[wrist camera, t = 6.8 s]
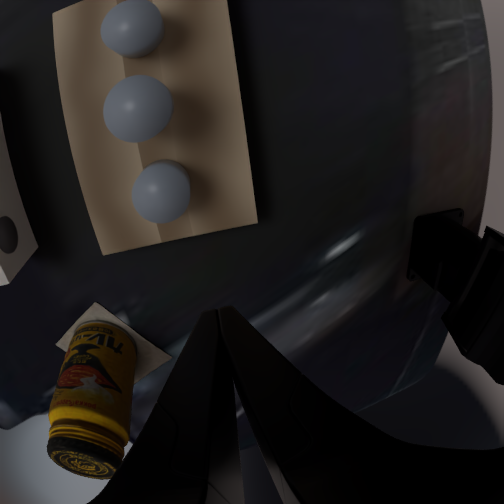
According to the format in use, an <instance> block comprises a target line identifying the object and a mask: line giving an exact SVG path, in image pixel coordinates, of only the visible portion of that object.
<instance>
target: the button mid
mask: <svg viewBox="0 0 504 504" xmlns="http://www.w3.org/2000/svg"><path fill="white" fill-rule="evenodd" d="M173 112H174V100H173V96H172V94H171V92H170V90H169V89H168V88H167V87H166V86H165V85H164V84H163V83H161V82H160V81H159V80H157V79H155V78H153V77H151V76H147V75H134V76H130V77H127V78H125V79H123V80H121V81H120V82H118V83H117V84H116V85H115V86H114V87H113V88H112V89H111V90H110V92H109V93H108V95H107V97H106V100H105V103H104V108H103V116H104V121H105V124H106V126H107V128H108V129H109V131H110V132H111V133H112V134H113V135H114V136H115V137H117V138H118V139H120V140H123V141H125V142H132V143H137V142H143V141H146V140H149V139H151V138H153V137H154V136H156V135H157V134H158V133H159V132H161V131H162V130H163V129H164V128H165V127H166V126H167V125H168V123H169V122H170V120H171V118H172V115H173Z"/></svg>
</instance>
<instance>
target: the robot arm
mask: <svg viewBox="0 0 504 504" xmlns="http://www.w3.org/2000/svg"><path fill="white" fill-rule="evenodd" d="M463 216H464V211H463V210H462V209H460V208H457V209H452V210H447V211H442V212H437V213H432V214H427V215H422V216H418V217H417V218H416V219H415V221H414V228H413V236H412V244H411V251H410V258H409V265H408V271H407V279H408V280H409V281H414V280H417V279H420V278H422V279H423V280H424V281H425V282H426V283H427V284H428V285H429V286H431V287H432V288H433V289H434V290H438V291H439V292H440V293H441V294H442V295H443V296H444V297H445V298H446V299H447V300H448V301H449V302H451V303H450V305H449V307H448V309H447V310H446V312H444V314H443V315H442V317H441V319H442V320H443V322H444V324H445V326H446V328H447V329H448V331H449V333H450V335H451V336H452V338H453V340H454V342H455V343H456V345H457V347H458V349H459V351H460V352H461V354H462V355H463V356H464V357H466V359H468V360H470V361H472V362H474V363H476V364H478V365H480V366H482V367H483V368H484V369H485V370H486V371H487V373H488V374H489V375H490V376H491V377H492V378H493V380H494V381H495V382H496V383H498V384H501V385H504V234H503V233H501V232H499V231H497V230H495V229H493V228H490V227H488V226H486V228H485V231H484V232H485V233H484V236H483V238H480V237H479V236H477V235H476V234H474V233H473V232H471V231H470V230H468V229H467V228H465V227H463V226H462V222H463ZM419 222H420V223H419ZM232 377H233V378H232ZM233 381H234V383H233ZM234 384H235V387H236V390H237V392H238V395H239V398H240V400H241V403H242V406H243V408H244V411H245V413H246V416H247V418H248V421H249V423H250V426H251V428H252V431H253V433H254V436H255V438H256V441H257V443H258V446H259V448H260V450H261V453H262V455H263V457H264V460H265V462H266V465H267V467H268V469H269V472H270V474H271V476H272V478H273V481H274V483H275V485H276V488H277V490H278V492H279V494H280V496H281V499H282V501H283V503H284V504H504V447H502V448H497V449H490V450H474V449H456V448H445V447H434V446H426V445H418V444H412V443H408V442H404V441H401V440H399V439H396V438H394V437H392V436H390V435H388V434H386V433H384V432H383V431H381V430H379V429H378V428H376V427H375V426H373V425H371V424H370V423H368V422H366V421H365V420H363V419H362V418H360V417H359V416H357V415H356V414H354V413H352V412H351V411H349V410H348V409H346V408H345V407H343V406H342V405H340V404H339V403H338V402H336V401H335V400H333V399H332V398H331V397H329V396H328V395H327V394H325V393H324V392H323V391H322V390H321V389H319V388H318V387H317V386H316V385H315V384H313V383H312V382H311V381H310V380H309V379H308V378H307V377H306V376H305V375H303V374H302V373H301V372H300V371H299V370H298V369H297V368H296V367H295V366H294V365H293V364H292V363H291V362H289V361H288V360H287V359H286V358H285V357H284V356H283V355H282V354H281V353H280V352H279V351H278V350H277V349H276V348H275V347H274V346H273V345H272V344H271V343H270V342H268V341H267V340H266V339H265V338H264V337H263V336H262V335H261V334H260V333H259V332H258V331H257V330H256V329H255V328H254V327H253V326H252V325H251V324H250V323H249V322H248V321H247V320H246V319H245V318H244V317H243V316H242V315H241V314H240V313H239V312H238V311H237V310H236V309H235V308H234V307H233V306H226V307H221V308H218V310H216V309H211V310H206V311H203V312H202V313H201V314H200V316H199V318H198V320H197V322H196V324H195V326H194V328H193V330H192V332H191V334H190V336H189V338H188V340H187V342H186V344H185V346H184V348H183V350H182V352H181V354H180V356H179V358H178V360H177V362H176V364H175V366H174V368H173V370H172V372H171V374H170V376H169V378H168V380H167V382H166V384H165V386H164V388H163V390H162V392H161V394H160V396H159V398H158V400H157V402H158V403H156V404H155V406H154V408H153V410H152V412H151V414H150V416H149V418H148V420H147V422H146V423H145V425H144V427H143V429H142V431H141V432H140V434H139V436H138V437H137V439H136V441H135V442H134V444H133V445H132V447H131V449H130V450H129V452H128V453H127V455H126V456H125V458H124V459H123V461H122V462H121V464H120V465H119V467H118V468H117V470H116V471H115V473H114V474H113V476H112V477H111V479H110V480H109V482H108V483H107V485H106V486H105V487H104V489H103V490H102V491H101V492H100V493H99V495H97V496H96V497H95V498H94V499H93V500H91V501H90V502H89V503H87V504H245V500H244V491H243V482H242V472H241V463H240V462H241V461H240V451H239V440H238V429H237V418H236V406H235V393H234Z"/></svg>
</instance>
